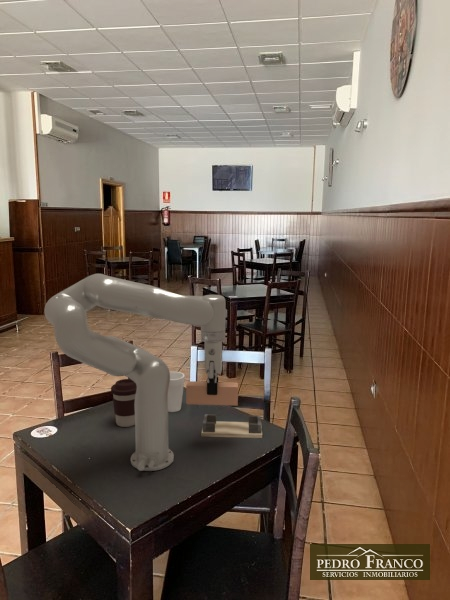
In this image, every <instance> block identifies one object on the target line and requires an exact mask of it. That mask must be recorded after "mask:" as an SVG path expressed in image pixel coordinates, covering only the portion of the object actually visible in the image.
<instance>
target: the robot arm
mask: <svg viewBox="0 0 450 600" xmlns="http://www.w3.org/2000/svg"><path fill="white" fill-rule="evenodd" d="M226 303H227V302H226V298H225V297H224V296H223V295H221V294H206V295H202V296H201V295H182V294H179V293H178V294H177V293H174V292H171V291H169V290H165V289H163V288H161V287H159V286H158V287H157V286H154V285H150V284H145V283H141V282H135V281H132V280H128V279H127V280H126V279H123V278H118V277H114V276H109V275H106V274H104V273H94V274H91V275H88V276H86V277H84V278H83V279H81V280H79V281H78V282H76V283H74V284H72V285H70V286H68V287H67V288H64V289H63V290H61V291H59V292H58V293H56V294H55V295H53V296H51V297H50V298H49V299H48V300H47V302H46V303H45V306H44V316H45V319H46V320H47V322H48V323H49V324H50V325H51V326H52V327H53V331H54V336H55V341H56V344H57V346H58V348H59V349H60V351H61V352H63V354H65V355H66V356H67V357H68V358H71V359H73V360H76V361H78V362H80V363H81V364H85V365H87V366H89V367H92V368H94V369H96V370H98V371H102V372H104V373H106V374H108V375H110V376H113V377H127V379H131V380H132V381H134V382H135V383H136V385H137V390H136V395H135V403H134V408H135V425H134V431H135V433H134V434H135V435H134V436H135V451H134V452H133V453H132V454H131V455H130V464H131V465H132V467H133V468H135V469H137V470H138V471H139V472H142V471H145V472H152V471H159V470H162V469H165V468H167V467H169V466H170V465H172V464H173V462H174V460H175V454H174V452H173V451H172V450H171V449H170V448H169V412H168V389H169V383H170V372H171V371H170V369H169V366H168V365H167V363H165V361H164V360H163V359H161V358H159V357H158V356H156V355H154V354H153V353H151V352H150V351H148V350H146V349H144V348H141V347H140V346H137V345H134V344H133V343H130V342H128V341H125V340H124V339H121V338H119V337H117V336H113V335H105V336H104V335H102V334H100V333H98V332H96V331H94V330H91V328H90V327H89V324H88V315H87V312H89V311H90V310H93V308H95V307H100V308H103V309H106V310H111V311H112V310H113V311H118V312H123V313H130V314H135V315H139V316H145V317H149V318H154V319H158V320H159V319H160V320H165V321H170V322H175V323H181V324H185V325H191V326H196V327H200V341H202V342H204V372H205V374H207V381H206V382H207V395H217V382H219V375H221V374H222V371H223V342H225V341H226Z"/></svg>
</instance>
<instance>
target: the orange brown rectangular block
mask: <svg viewBox="0 0 450 600" xmlns="http://www.w3.org/2000/svg"><path fill="white" fill-rule="evenodd" d="M207 382H208V381H193V380H191V381H187V383H186V387H185V388H186V390H185V394H186V396H185V397H186V403H185V404H186V405H199V406H200V405H201V406H202V405H204V406H206V405H207V406H239V405H238V404H239V402H238V401H239V382H229V381H228V382H226V381H224V382H223V381H218V382H217V395H207Z"/></svg>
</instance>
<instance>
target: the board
mask: <svg viewBox="0 0 450 600" xmlns="http://www.w3.org/2000/svg"><path fill="white" fill-rule="evenodd" d="M261 419H262V417H261V415H256V414H255V415H254V414H248V421H217V414H216V413H215V414H213V413H210V414H209V413H205V414H204V416H203V421H202V428H201V434H200V436H201V437H208V438H209V437H211V438H238V439H239V438H241V439H244V438H246V439H263V428H262V420H261Z"/></svg>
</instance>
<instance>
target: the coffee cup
mask: <svg viewBox="0 0 450 600" xmlns="http://www.w3.org/2000/svg"><path fill="white" fill-rule="evenodd" d="M136 390H137V385H136V383H135V382H134V381H132V380H131V379H130V378H123V379H119V380H117V381H115V383H114V384H112V385H111V387H110V393H111V394H112V395H113V396H112V402H113V403H112V404H113V410H114V411H113V412H114V414H115V422H116V425H117V427H122V428H129V427H133V426H135V408H134V403H135V395H136Z"/></svg>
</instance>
